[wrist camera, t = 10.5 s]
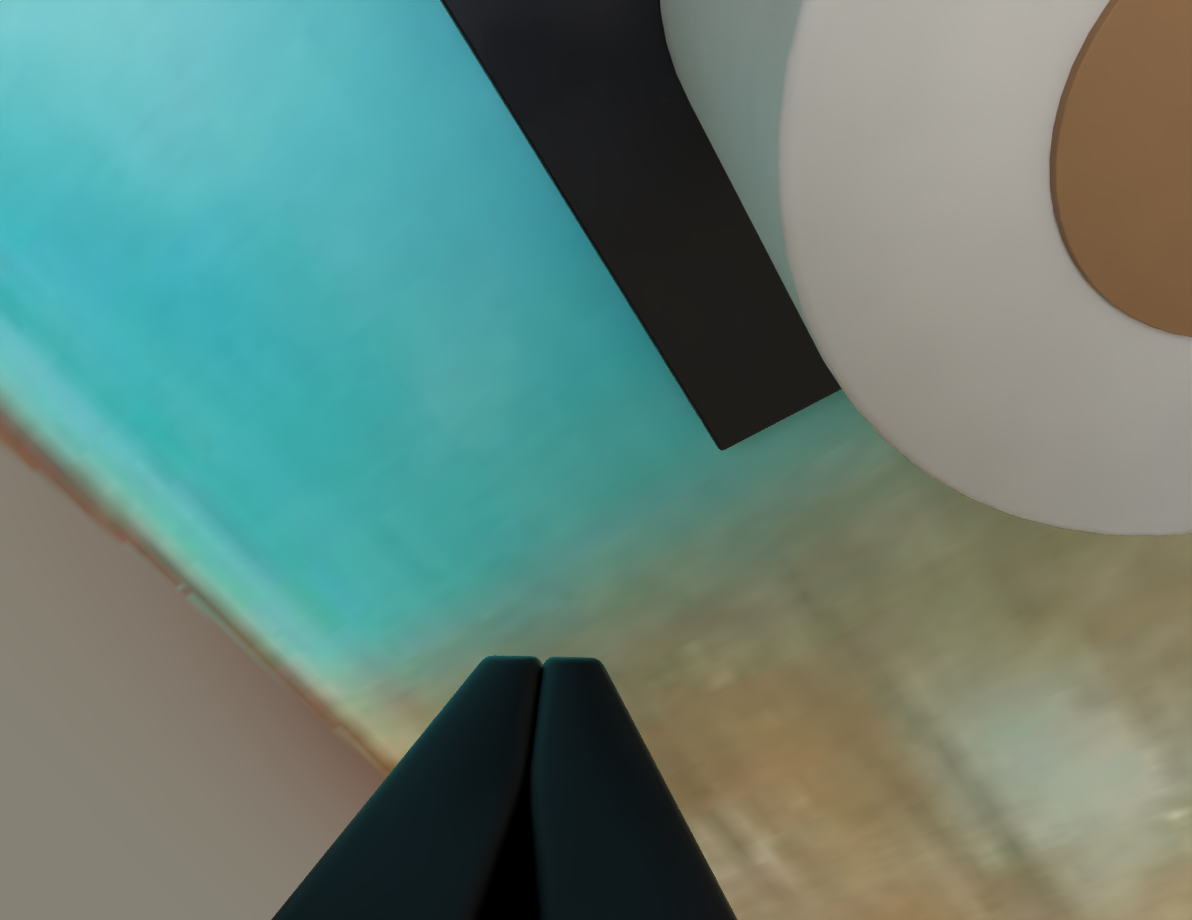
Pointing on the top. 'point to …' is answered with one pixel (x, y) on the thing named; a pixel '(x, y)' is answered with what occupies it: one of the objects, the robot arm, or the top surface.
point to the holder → (652, 200)
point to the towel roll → (978, 229)
